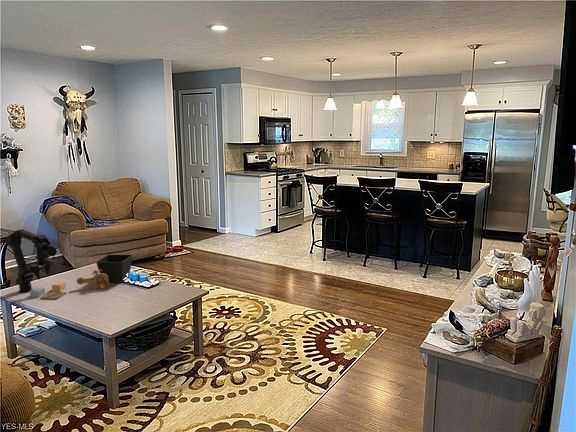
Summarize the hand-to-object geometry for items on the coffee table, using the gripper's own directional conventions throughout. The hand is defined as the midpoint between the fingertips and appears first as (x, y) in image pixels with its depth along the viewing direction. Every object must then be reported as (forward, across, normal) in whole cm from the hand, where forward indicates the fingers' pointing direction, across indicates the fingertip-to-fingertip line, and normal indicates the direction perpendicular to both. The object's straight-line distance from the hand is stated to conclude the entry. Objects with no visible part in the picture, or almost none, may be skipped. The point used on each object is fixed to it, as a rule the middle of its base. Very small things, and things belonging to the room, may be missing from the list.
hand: (43, 277), depth 283 cm
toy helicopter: (+12, +14, -27) cm, 33 cm away
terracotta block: (+12, +10, -4) cm, 16 cm away
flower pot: (+12, +32, -34) cm, 48 cm away
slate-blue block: (+12, -2, +4) cm, 13 cm away
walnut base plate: (+12, -2, -8) cm, 14 cm away
